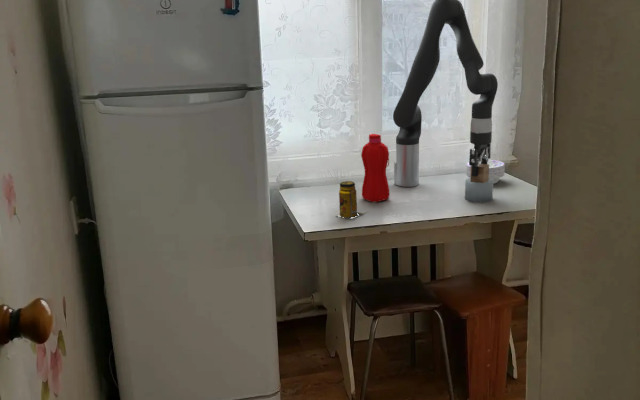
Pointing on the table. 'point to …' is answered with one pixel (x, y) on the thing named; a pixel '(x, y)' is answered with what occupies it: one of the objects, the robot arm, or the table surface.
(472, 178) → the walnut block
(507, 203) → the table surface
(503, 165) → the paper bowls
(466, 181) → the slate canister
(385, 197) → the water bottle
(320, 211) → the table surface
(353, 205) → the condiment
